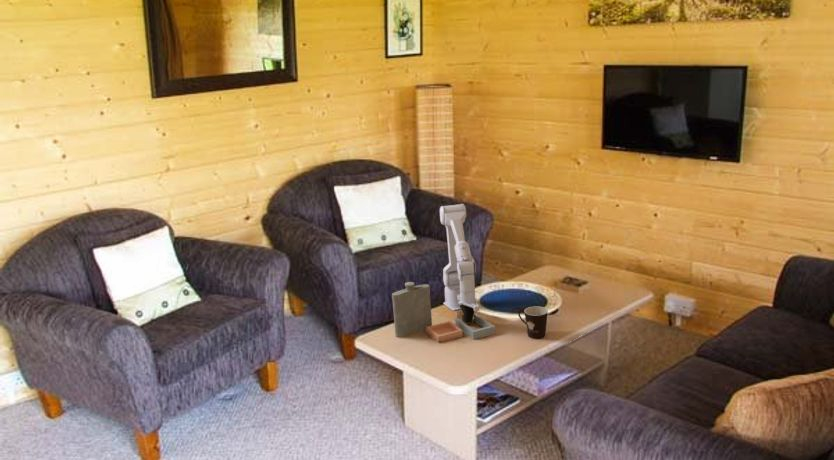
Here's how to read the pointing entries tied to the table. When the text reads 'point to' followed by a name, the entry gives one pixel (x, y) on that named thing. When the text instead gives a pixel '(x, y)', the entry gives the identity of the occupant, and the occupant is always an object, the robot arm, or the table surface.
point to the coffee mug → (535, 321)
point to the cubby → (474, 334)
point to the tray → (444, 331)
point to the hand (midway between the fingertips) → (469, 322)
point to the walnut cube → (462, 316)
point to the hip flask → (411, 309)
